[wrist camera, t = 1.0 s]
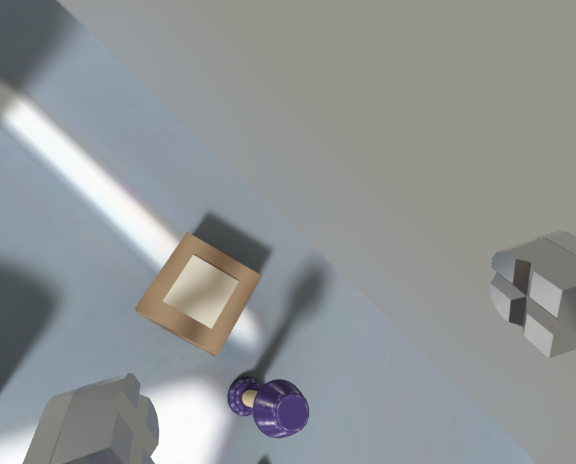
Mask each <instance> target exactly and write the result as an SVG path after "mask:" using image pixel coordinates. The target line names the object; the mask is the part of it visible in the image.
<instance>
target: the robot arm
mask: <svg viewBox="0 0 576 464" xmlns="http://www.w3.org/2000/svg"><path fill="white" fill-rule="evenodd" d="M492 268H493V269H494V270H495V271H496V273H497V274H496V276H495V277H494V278H493V280H492V281H491V283H490V296H491V298H492V301H493V304H494V306H495V307H496V309H497V310H498V312H499V313H500V314H501V315H502V316H503V317H504V318H505V319H506V320H507V321H508V322H511V323H513V324H517V325H519V326H522V327H523V332H524V336H525V337H526V338H527V339H528V340H529V341H530V342H532V343H533V344H534V345H535V346H536V347H537V348H538V349H539V350H541V351H542V352H543V353H544V354H545V355H546V356H547V357H549V358H551V357H554V356H557V355H560V354H563V353H566V352H569V351H572V350H575V349H576V236H574V235H572V234H570V233H568V232H563V231H556V232H553V233H550V234H547V235H544V236H541V237H538V238H537V239H534V240H531V241H528V242H524V243H521V244H519V245H516V246H513V247H510V248H507V249H504V250H501V251H498V252H496V253H495V255H494V256H493V258H492ZM139 390H140V383H139V381H138V380H137V379H136V377H135V376H134V374H131V373H127V374H123V375H120V376H117V377H113V378H110V379H107V380H104V381H100V382H97V383H94V384H90V385H87V386H84V387H81V388H79V389H76V390H73V391H69V392H66V393H63V394H59V395H56V396H53V397H52V398H51V399H50V400H49V401H48V402H47V404H46V406H45V409H44V411H43V414H42V416H41V419H40V421H39V424H38V426H37V429H36V431H35V434H34V436H33V439H32V441H31V444H30V447H29V449H28V452H27V454H26V457H25V459H24V462H23V464H155V463H154V462H153V460H152V459H151V457H150V456H151V455H152V453H153V452H154V450H155V449H156V447H157V445H158V441H159V426H158V418H157V414H156V411H155V408H154V406H153V404H152V402H151V401H150V399H149V398H148V397H145V396H143V395H140V394H139Z"/></svg>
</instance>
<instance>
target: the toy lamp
mask: <svg viewBox="0 0 576 464" xmlns="http://www.w3.org/2000/svg"><path fill="white" fill-rule="evenodd" d="M228 404H229V406H230V408H231V409H232V411H233V412H235V413H236V414H238V415H241V416H248V415H251V414H253V417H254V421H255V423H256V425H257V427H258V428H259V429H260V431H261V432H263V433H264V434H265V435H267V436H269V437H272V438H284V437H287V436H290V435H293V434H295V433H297V432H299V431H300V430H302V429H303V427H304V426H305V425H306V423H307V421H308V418H309V406H308V403H307V401H306V399H305V398H304V396H303V395H302V393H301V392H300V391H299V389H298V388H297V387H296V386H295V385H294V384H292V383H291V382H289V381H286V380H280V379H279V380H273V381H270V382H268V383H266V384H265V385H263V386H262V387H261V385H260V384H259V382H258V381H257V380H255V379H254V378H251V377H242V378H239V379H237V380H236V381H235V382H233V384H232V385H231V386H230V388H229V391H228Z"/></svg>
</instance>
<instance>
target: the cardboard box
mask: <svg viewBox="0 0 576 464" xmlns="http://www.w3.org/2000/svg"><path fill="white" fill-rule="evenodd" d="M260 278H261V275H260V274H258V273H256V272H255V271H253V270H251V269H249V268H248V267H246V266H244V265H243V264H241V263H239V262H238V261H236V260H234V259H232V258H231V257H229V256H227V255H226V254H224V253H222V252H221V251H219V250H217V249H215V248H214V247H212V246H210V245H209V244H207V243H205V242H204V241H202V240H200V239H198V238H197V237H195V236H193V235H192V234H190V233H188V232H187V233H186V234H185V236H184V237H183V239H182V240H181V242H180V243H179V245H178V246H177V248H176V249H175V250H174V252H173V253H172V255H171V256H170V258H169V259H168V261H167V262H166V264H165V265H164V267H163V268H162V269H161V271H160V272H159V274H158V275H157V277H156V278H155V280H154V281H153V283H152V284H151V286H150V287H149V288H148V290H147V291H146V293H145V294H144V296H143V297H142V299H141V300H140V302H139V303H138V305H137V306H136V307H135V310H136V312H137V313H138V314H139V315H141V316H143V317H144V318H146V319H148V320H150V321H152V322H153V323H155V324H157V325H159V326H161V327H162V328H164V329H166V330H168V331H170V332H171V333H173V334H175V335H177V336H179V337H180V338H182V339H184V340H186V341H188V342H189V343H191V344H193V345H195V346H197V347H198V348H200V349H202V350H204V351H206V352H207V353H209V354H211V355H218V354H219V353H220V351H221V349H222V347H223V345H224V343H225V342H226V340H227V338H228V336H229V334H230V333H231V331H232V329H233V327H234V325H235V323H236V322H237V320H238V318H239V316H240V314H241V313H242V311H243V309H244V307H245V305H246V303H247V302H248V300H249V298H250V296H251V294H252V292H253V291H254V289H255V287H256V285H257V283H258V282H259V280H260Z"/></svg>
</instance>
